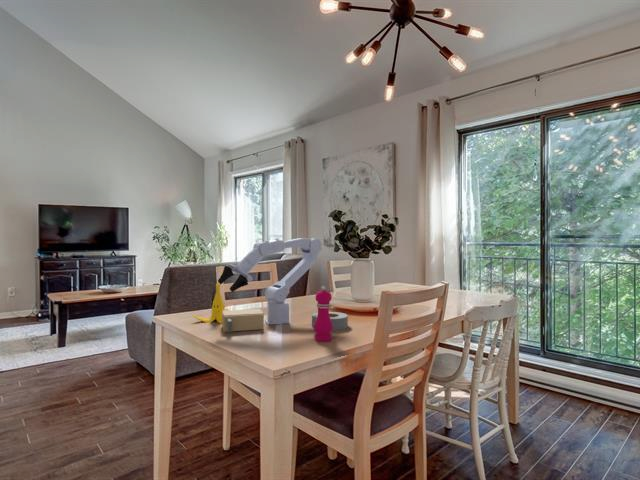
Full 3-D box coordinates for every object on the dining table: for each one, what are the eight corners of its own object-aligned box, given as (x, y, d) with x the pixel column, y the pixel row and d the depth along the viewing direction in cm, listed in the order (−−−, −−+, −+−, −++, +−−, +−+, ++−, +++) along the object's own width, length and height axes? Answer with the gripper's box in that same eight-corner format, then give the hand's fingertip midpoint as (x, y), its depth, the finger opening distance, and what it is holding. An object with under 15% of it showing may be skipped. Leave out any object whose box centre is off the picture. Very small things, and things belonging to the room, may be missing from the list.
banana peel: (233, 324, 169) (233, 286, 169) (192, 323, 171) (192, 285, 171) (245, 316, 186) (245, 281, 185) (207, 315, 188) (207, 280, 188)
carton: (260, 323, 170) (260, 308, 170) (263, 329, 161) (263, 313, 160) (222, 326, 165) (222, 310, 165) (223, 331, 156) (223, 315, 156)
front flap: (263, 328, 160) (263, 314, 160) (265, 332, 154) (265, 317, 154) (224, 331, 156) (224, 316, 155) (225, 335, 150) (225, 319, 150)
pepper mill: (316, 342, 142) (316, 287, 141) (311, 337, 149) (311, 285, 148) (335, 341, 144) (335, 287, 143) (329, 336, 151) (329, 284, 150)
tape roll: (323, 321, 177) (323, 310, 177) (353, 325, 170) (353, 313, 169) (304, 328, 164) (305, 316, 164) (336, 333, 156) (337, 320, 156)
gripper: (233, 251, 166) (210, 273, 160) (256, 264, 158) (232, 288, 152) (239, 261, 171) (217, 283, 165) (261, 274, 163) (239, 298, 157)
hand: (224, 286), depth 159 cm, fingers open, 7 cm apart
